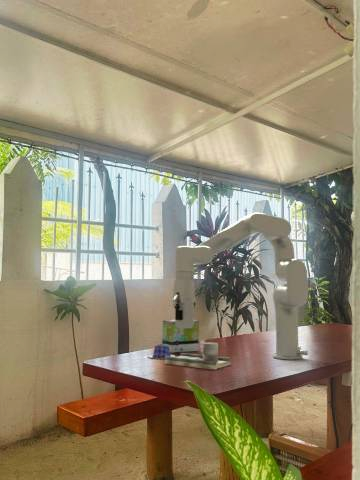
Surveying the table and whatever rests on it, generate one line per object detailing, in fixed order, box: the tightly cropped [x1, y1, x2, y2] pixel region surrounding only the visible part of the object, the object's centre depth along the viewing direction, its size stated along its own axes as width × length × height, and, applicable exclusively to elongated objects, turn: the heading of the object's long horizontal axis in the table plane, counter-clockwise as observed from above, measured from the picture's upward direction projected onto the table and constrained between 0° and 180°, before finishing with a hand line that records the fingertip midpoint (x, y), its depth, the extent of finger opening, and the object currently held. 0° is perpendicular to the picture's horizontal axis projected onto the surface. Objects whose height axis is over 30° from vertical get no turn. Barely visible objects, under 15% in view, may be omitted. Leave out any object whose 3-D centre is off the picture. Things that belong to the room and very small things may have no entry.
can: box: [174, 298, 195, 328], centre depth 182 cm, size 8×8×12 cm
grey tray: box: [164, 342, 231, 370], centre depth 177 cm, size 23×12×8 cm, turn 56°
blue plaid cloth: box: [147, 344, 176, 360], centre depth 195 cm, size 12×12×5 cm
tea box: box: [161, 319, 200, 354], centre depth 215 cm, size 15×10×15 cm
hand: (184, 319), depth 182 cm, fingers closed on can, 7 cm apart
